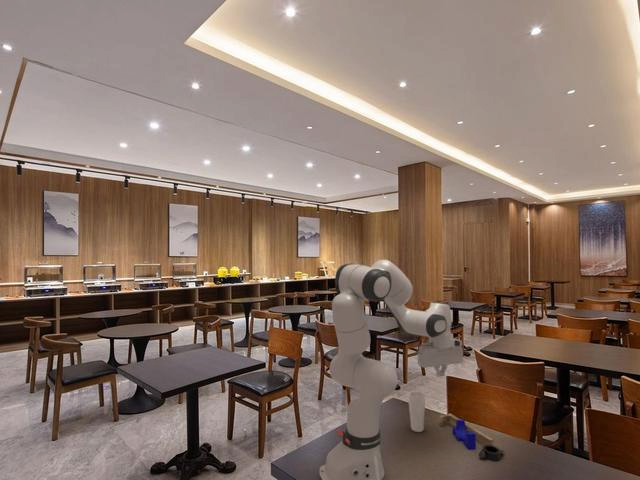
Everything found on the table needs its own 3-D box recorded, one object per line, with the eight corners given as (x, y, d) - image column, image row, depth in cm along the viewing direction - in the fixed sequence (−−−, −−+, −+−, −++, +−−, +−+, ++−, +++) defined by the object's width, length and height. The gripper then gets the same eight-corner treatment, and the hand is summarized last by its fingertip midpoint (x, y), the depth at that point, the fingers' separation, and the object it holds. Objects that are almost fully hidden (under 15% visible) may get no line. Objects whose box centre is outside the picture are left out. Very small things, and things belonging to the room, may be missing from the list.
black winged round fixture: (509, 465, 126) (509, 456, 126) (479, 461, 128) (479, 453, 129) (503, 453, 134) (503, 445, 134) (475, 450, 136) (474, 442, 136)
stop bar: (481, 453, 133) (481, 442, 133) (439, 425, 155) (439, 415, 155) (493, 450, 135) (493, 439, 136) (450, 422, 157) (450, 413, 157)
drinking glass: (407, 430, 150) (406, 395, 151) (411, 424, 156) (411, 389, 157) (423, 435, 147) (422, 398, 147) (427, 428, 153) (426, 392, 153)
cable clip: (452, 434, 148) (452, 419, 148) (463, 434, 148) (463, 419, 148) (464, 450, 136) (463, 434, 136) (475, 450, 136) (475, 434, 136)
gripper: (423, 345, 139) (424, 381, 139) (465, 341, 146) (465, 375, 146) (414, 341, 145) (414, 376, 145) (454, 338, 152) (454, 370, 152)
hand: (440, 375), depth 145 cm, fingers closed
